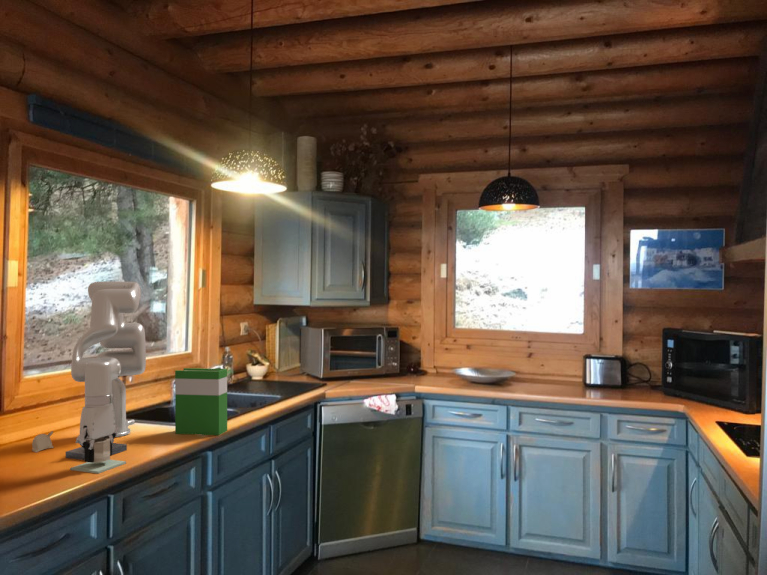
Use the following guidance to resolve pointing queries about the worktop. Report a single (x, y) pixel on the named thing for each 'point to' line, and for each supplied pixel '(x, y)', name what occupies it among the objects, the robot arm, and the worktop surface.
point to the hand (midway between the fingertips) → (98, 458)
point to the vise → (80, 452)
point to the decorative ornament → (42, 442)
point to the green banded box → (201, 401)
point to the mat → (98, 466)
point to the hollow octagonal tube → (101, 450)
